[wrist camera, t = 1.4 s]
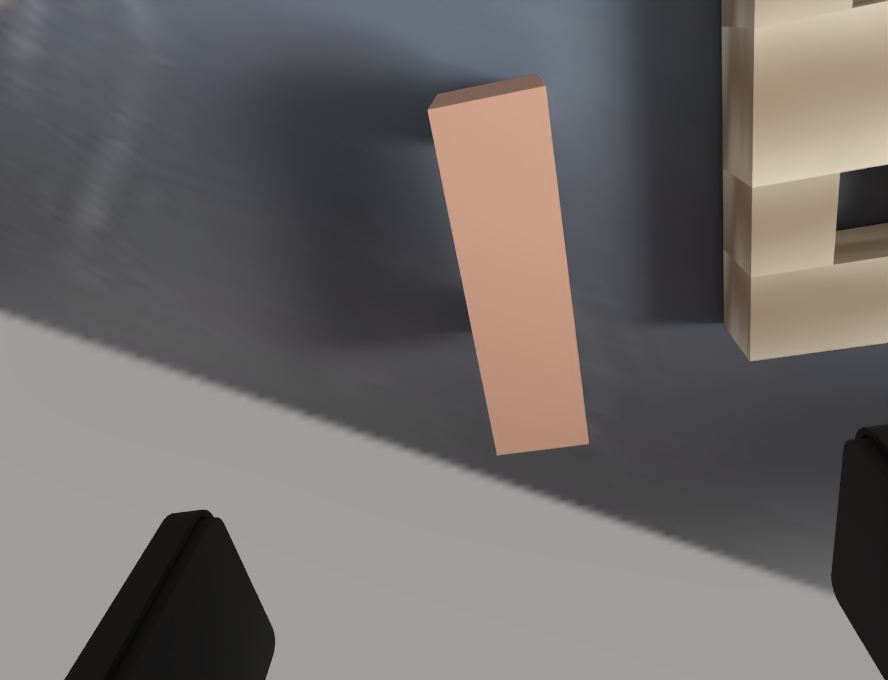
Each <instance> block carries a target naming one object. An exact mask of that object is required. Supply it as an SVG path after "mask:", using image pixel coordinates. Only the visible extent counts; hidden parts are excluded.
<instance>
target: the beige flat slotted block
mask: <svg viewBox="0 0 888 680" xmlns="http://www.w3.org/2000/svg"><path fill="white" fill-rule="evenodd" d="M722 122H723V261H724V327H725V328H726V330H727V331H728V332H729V334H730V335H731V336H732V338H733V339H734V340H735V342H736V343H737V344H738V346H739V347H740V349H741V350H742V351H743V353H744V354H745V355H746V357H747V358H748V359H749V361H756V360H763V359H771V358H778V357H786V356H793V355H800V354H808V353H815V352H822V351H830V350H837V349H845V348H852V347H859V346H867V345H874V344H881V343H888V223H883V224H877V225H871V226H865V227H859V228H852V229H846V230H840V231H836V222H837V208H838V194H839V181H840V173H841V172H847V171H852V170H858V169H864V168H870V167H875V166H881V165H887V164H888V0H722Z"/></svg>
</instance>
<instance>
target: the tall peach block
mask: <svg viewBox="0 0 888 680" xmlns="http://www.w3.org/2000/svg"><path fill="white" fill-rule="evenodd" d="M428 115H429V120H430V125H431V130H432V135H433V140H434V145H435V150H436V155H437V160H438V164H439V169H440V174H441V179H442V184H443V189H444V194H445V199H446V204H447V209H448V214H449V219H450V224H451V229H452V234H453V239H454V244H455V249H456V254H457V259H458V264H459V269H460V274H461V279H462V284H463V289H464V294H465V299H466V304H467V309H468V314H469V318H470V323H471V328H472V333H473V338H474V343H475V348H476V353H477V358H478V363H479V368H480V373H481V378H482V383H483V388H484V393H485V398H486V403H487V408H488V413H489V418H490V423H491V428H492V433H493V438H494V443H495V448H496V453H497V455H503V454H512V453H520V452H528V451H536V450H544V449H553V448H561V447H569V446H577V445H585V444H589V439H588V431H587V423H586V414H585V406H584V398H583V390H582V381H581V373H580V365H579V357H578V349H577V340H576V332H575V324H574V316H573V308H572V299H571V291H570V283H569V275H568V266H567V258H566V250H565V242H564V234H563V225H562V217H561V209H560V201H559V192H558V184H557V176H556V168H555V160H554V151H553V143H552V135H551V127H550V119H549V110H548V102H547V94H546V86H545V84H544V83H543V82H542V80H541V79H540V78H539V76H538V75H537V74H532V75H527V76H522V77H517V78H512V79H508V80H503V81H498V82H493V83H488V84H484V85H479V86H474V87H469V88H464V89H460V90H455V91H450V92H445V93H440V94H437V96H436V97H435V99H434V100H433V102H432V104H431V105H430V107H429V108H428Z"/></svg>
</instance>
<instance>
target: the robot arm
mask: <svg viewBox="0 0 888 680" xmlns="http://www.w3.org/2000/svg"><path fill="white" fill-rule="evenodd" d="M831 580H832V586H833V590H834V593H835V596H836V598H837V600H838V602H839V604H840V606H841V608H842V609H843V611H844V612H845V614H846V616H847V617H848V619H849V621H850V623H851V624H852V626H853V628H854V629H855V631H856V633H857V634H858V636H859V638H860V639H861V641H862V642H863V644H864V646H865V647H866V649H867V651H868V652H869V654H870V656H871V658H872V659H873V661H874V662H875V664H876V666H877V668H878V669H879V671H880V673H881V674H882V675H883V677H884V679H885V680H888V424H887V425H879V426H871V427H863V428H861V429H859V430H858V432H857V433H856V437H855V439H852V440H848V441H846V443H845V445H844V450H843V460H842V471H841V481H840V491H839V501H838V512H837V522H836V532H835V542H834V552H833V563H832V573H831ZM274 648H275V636H274V631H273V628H272V626H271V623H270V622H269V619H268V617H267V615H266V613H265V611H264V608H263V606H262V604H261V602H260V600H259V598H258V595H257V593H256V591H255V589H254V587H253V585H252V583H251V581H250V578H249V576H248V574H247V572H246V570H245V568H244V565H243V563H242V561H241V559H240V557H239V555H238V553H237V550H236V548H235V546H234V544H233V542H232V540H231V538H230V535H229V533H228V531H227V529H226V527H225V525H224V523H223V521H222V520H221V519H220V518H216V517H215V518H214V517H213V515H212V514H211V513H210V512H209V511H208V510H197V511H189V512H180V513H172V514H170V515H168V516H167V517H166V518H165V519H164V520H163V522H162V524H161V525H160V527H159V528H158V530H157V532H156V533H155V535H154V536H153V538H152V540H151V541H150V543H149V545H148V546H147V548H146V549H145V551H144V552H143V554H142V556H141V557H140V559H139V561H138V562H137V564H136V565H135V567H134V569H133V570H132V572H131V573H130V575H129V577H128V578H127V580H126V582H125V583H124V585H123V586H122V588H121V590H120V591H119V593H118V594H117V596H116V597H115V599H114V601H113V602H112V604H111V606H110V607H109V609H108V610H107V612H106V614H105V615H104V617H103V618H102V620H101V622H100V623H99V625H98V627H97V628H96V630H95V631H94V633H93V635H92V636H91V638H90V639H89V641H88V643H87V644H86V646H85V648H84V649H83V651H82V652H81V654H80V655H79V657H78V659H77V660H76V662H75V663H74V665H73V667H72V668H71V670H70V671H69V673H68V675H67V676H66V678H65V679H64V680H265V679H266V676H267V673H268V670H269V667H270V663H271V660H272V657H273V653H274Z"/></svg>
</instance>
